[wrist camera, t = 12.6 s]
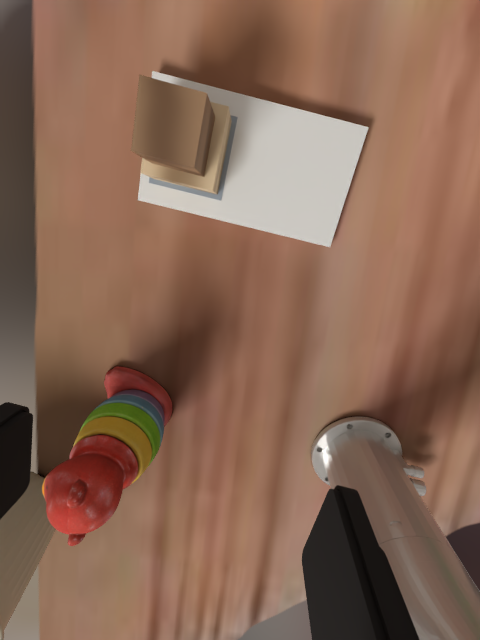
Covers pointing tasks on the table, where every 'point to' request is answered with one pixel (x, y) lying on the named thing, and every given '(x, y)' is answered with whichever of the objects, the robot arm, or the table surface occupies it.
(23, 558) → the canister
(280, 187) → the board
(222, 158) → the oak base block
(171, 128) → the walnut cube
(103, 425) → the stacking bear
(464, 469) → the table surface
